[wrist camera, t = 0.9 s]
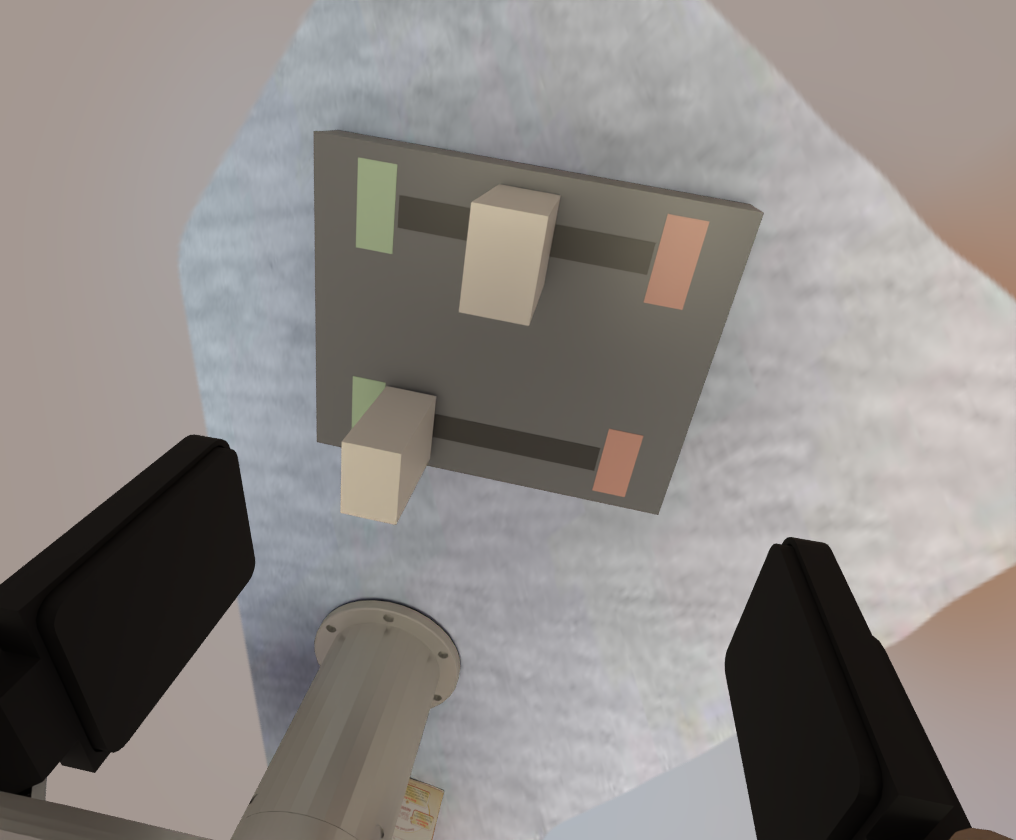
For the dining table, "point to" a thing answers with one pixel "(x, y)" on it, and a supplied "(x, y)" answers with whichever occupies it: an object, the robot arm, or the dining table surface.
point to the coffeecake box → (418, 812)
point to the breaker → (386, 454)
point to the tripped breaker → (507, 253)
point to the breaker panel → (514, 347)
